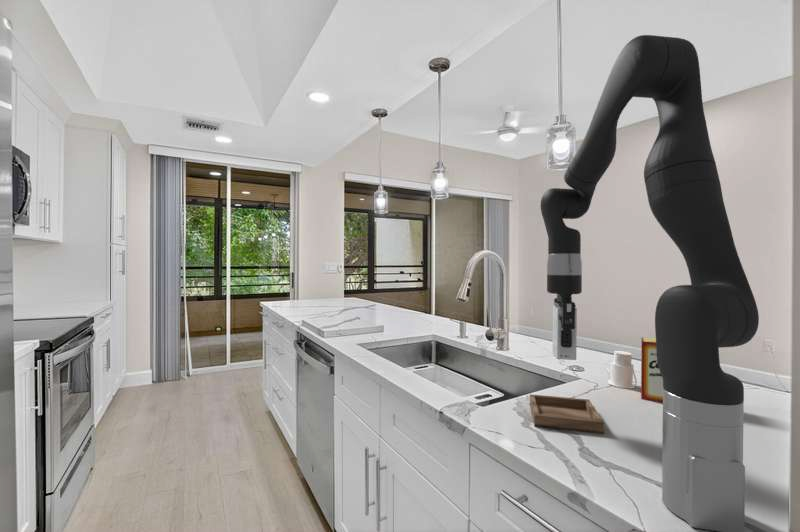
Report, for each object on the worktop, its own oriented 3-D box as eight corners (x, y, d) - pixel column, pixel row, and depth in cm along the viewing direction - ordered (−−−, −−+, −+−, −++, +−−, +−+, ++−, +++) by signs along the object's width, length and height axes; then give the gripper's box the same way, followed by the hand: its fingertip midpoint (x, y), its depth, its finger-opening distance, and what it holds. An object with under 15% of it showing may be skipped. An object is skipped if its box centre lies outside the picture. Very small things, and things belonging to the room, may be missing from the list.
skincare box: (577, 360, 85) (577, 308, 85) (557, 359, 86) (557, 307, 86) (570, 354, 91) (570, 305, 91) (551, 353, 92) (552, 304, 92)
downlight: (601, 383, 114) (603, 351, 114) (612, 379, 118) (614, 348, 118) (630, 391, 108) (632, 357, 107) (640, 387, 112) (642, 354, 112)
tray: (603, 434, 80) (604, 422, 80) (534, 426, 84) (534, 415, 84) (588, 409, 94) (589, 399, 93) (529, 403, 97) (529, 394, 97)
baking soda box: (682, 398, 102) (682, 339, 102) (685, 406, 96) (685, 344, 96) (641, 392, 107) (641, 336, 107) (641, 398, 101) (641, 339, 101)
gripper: (588, 274, 80) (588, 352, 80) (575, 272, 94) (575, 339, 94) (551, 273, 82) (550, 349, 82) (543, 272, 96) (543, 337, 96)
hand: (563, 343), depth 88 cm, fingers closed on skincare box, 6 cm apart
